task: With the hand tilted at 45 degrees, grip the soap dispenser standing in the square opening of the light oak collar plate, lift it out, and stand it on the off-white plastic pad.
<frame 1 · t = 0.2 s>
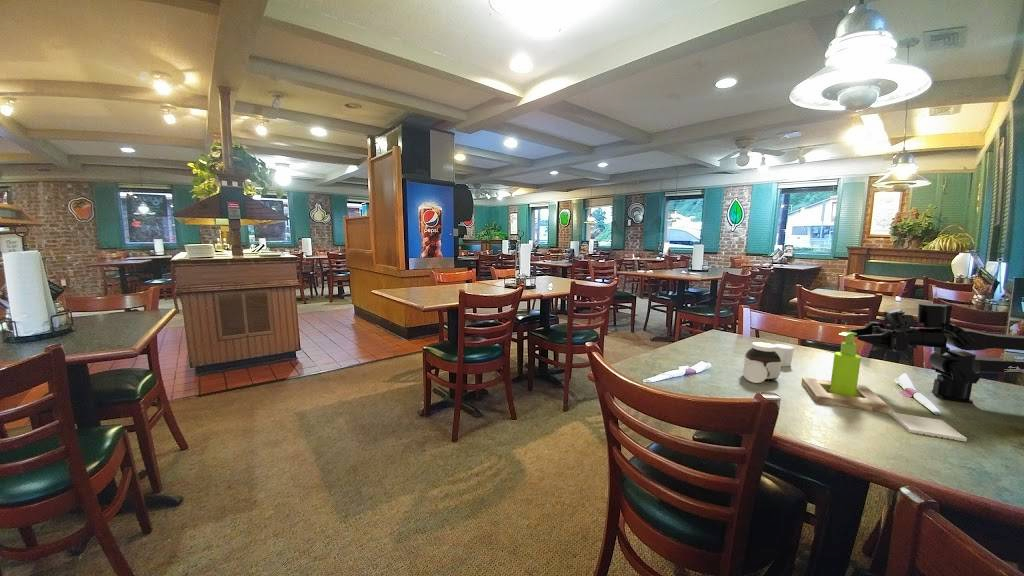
hand: (851, 334, 121), 17 cm above the table, tool horizontal, fingers open, 9 cm apart
soap dispenser: (840, 397, 114), resting in collar plate
white cup: (781, 364, 143), on the table
spread jar: (759, 379, 128), on the table
pad: (925, 427, 96), on the table
collar plate: (841, 396, 114), on the table
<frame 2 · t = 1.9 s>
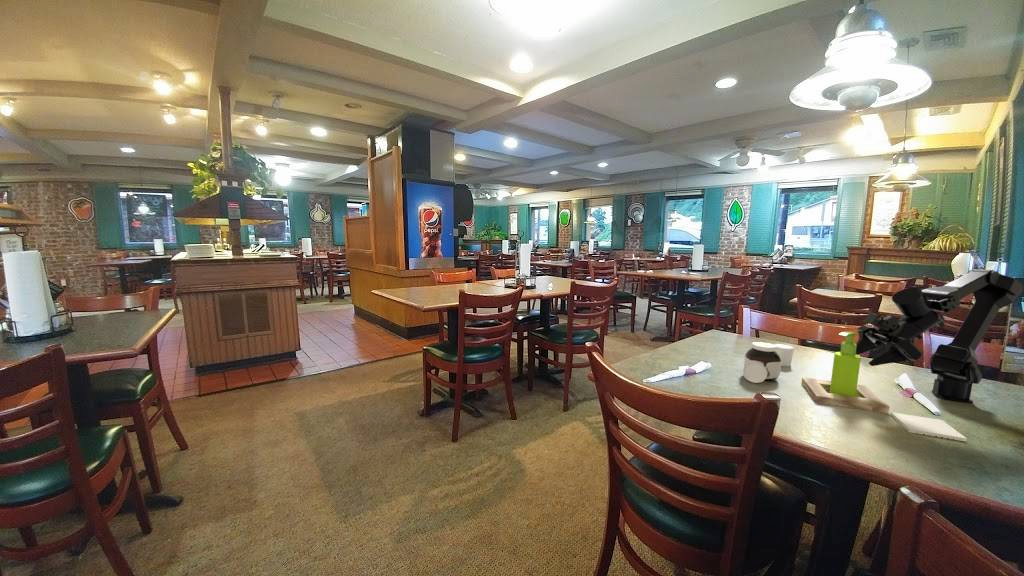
hand: (859, 359, 111), 12 cm above the table, tool tilted 45°, fingers open, 9 cm apart
nothing on the table moved.
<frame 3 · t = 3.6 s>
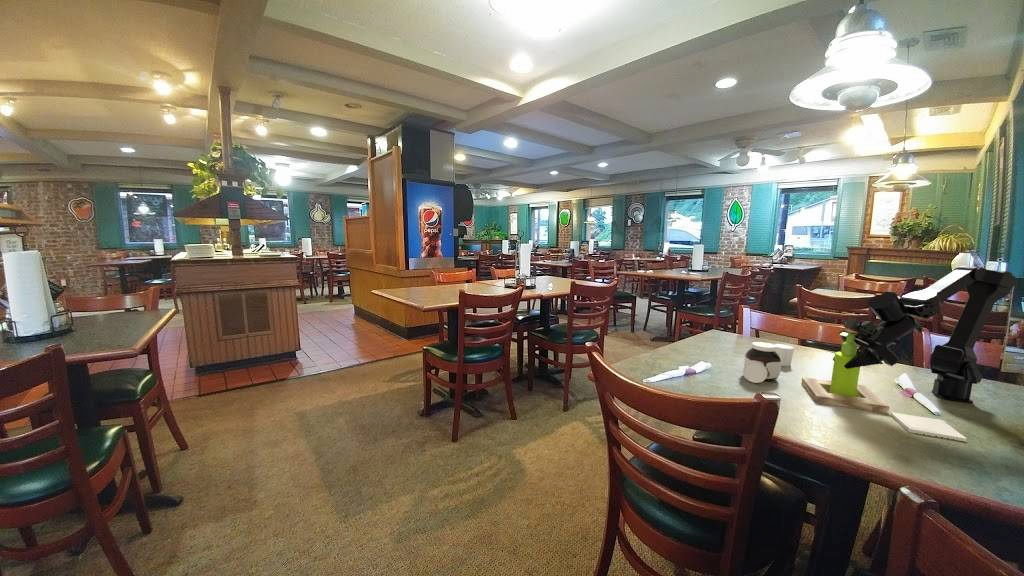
hand: (839, 364, 113), 10 cm above the table, tool tilted 45°, fingers closed on soap dispenser, 6 cm apart
soap dispenser: (840, 397, 114), resting in collar plate, touching gripper
everything else where it was.
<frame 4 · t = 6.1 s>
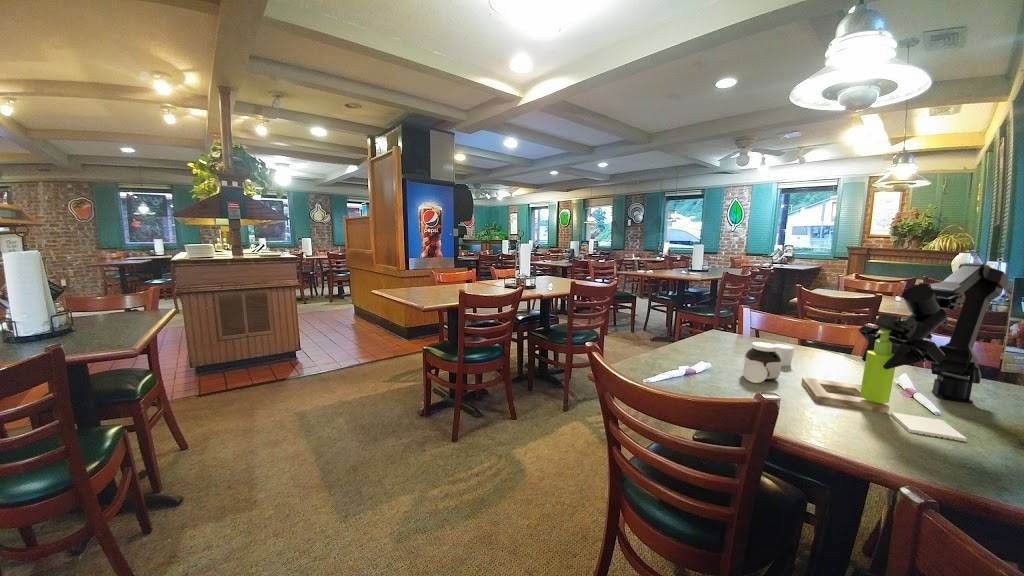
hand: (873, 364, 103), 13 cm above the table, tool tilted 45°, fingers closed on soap dispenser, 6 cm apart
soap dispenser: (873, 399, 105), point 3 cm above the table, touching gripper
everything else where it was.
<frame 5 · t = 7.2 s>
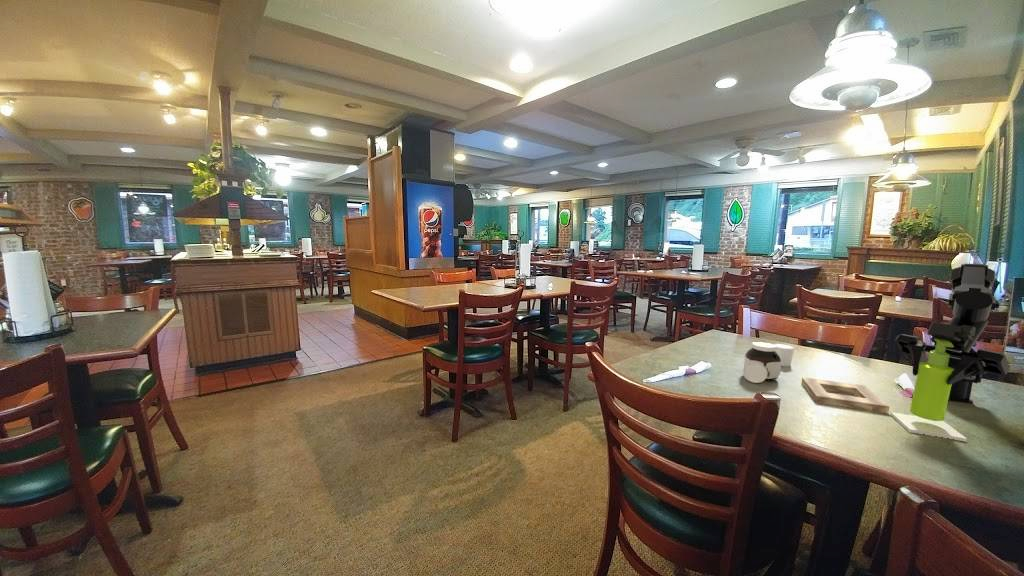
hand: (930, 378, 94), 13 cm above the table, tool tilted 45°, fingers closed on soap dispenser, 6 cm apart
soap dispenser: (926, 416, 96), point 3 cm above the table, touching gripper
everything else where it was.
when the fingers open (12 cm above the table, at t = 8.2 s): soap dispenser stays where it is, resting on pad.
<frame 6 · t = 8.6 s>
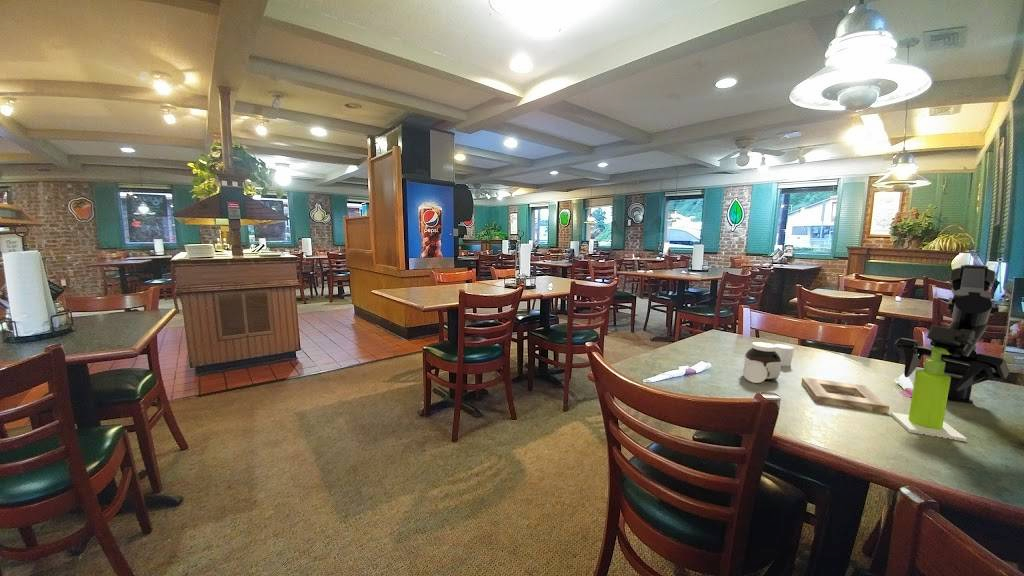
hand: (929, 382, 94), 12 cm above the table, tool tilted 45°, fingers open, 9 cm apart
soap dispenser: (925, 424, 96), point 1 cm above the table, touching pad
everything else where it was.
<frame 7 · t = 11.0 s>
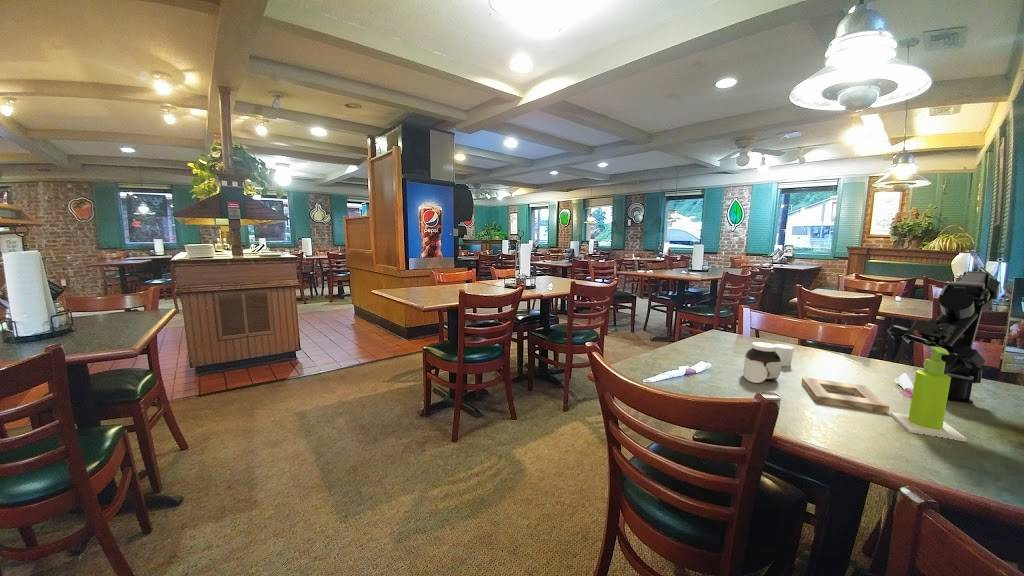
hand: (911, 369, 104), 12 cm above the table, tool tilted 35°, fingers open, 9 cm apart
nothing on the table moved.
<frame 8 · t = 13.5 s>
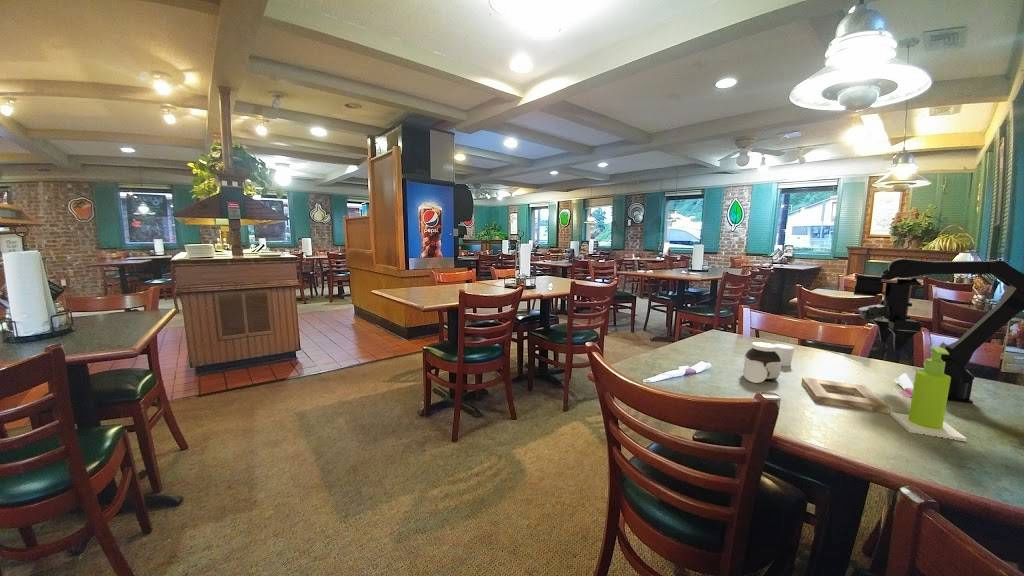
hand: (889, 346, 121), 13 cm above the table, tool pointing down, fingers open, 9 cm apart
nothing on the table moved.
at the end: soap dispenser inside the target area on the pad (0.2 cm from its centre), point 0.6 cm above the pad's base; soap dispenser tilted 0°; the gripper is holding nothing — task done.
